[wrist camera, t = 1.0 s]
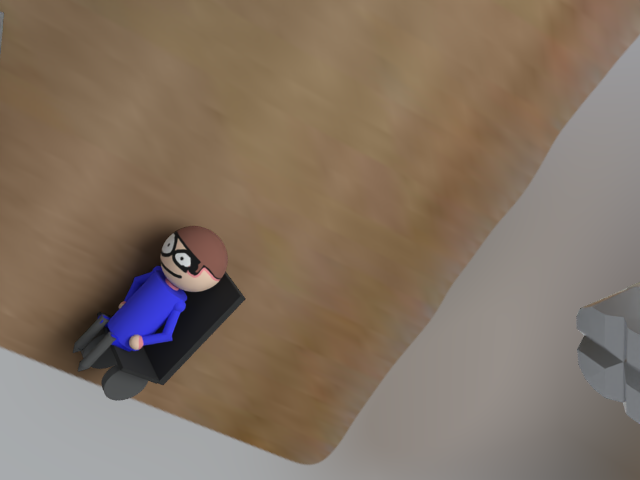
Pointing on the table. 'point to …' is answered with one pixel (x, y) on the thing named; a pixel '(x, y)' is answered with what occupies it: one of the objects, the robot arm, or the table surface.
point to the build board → (1, 27)
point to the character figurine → (163, 315)
